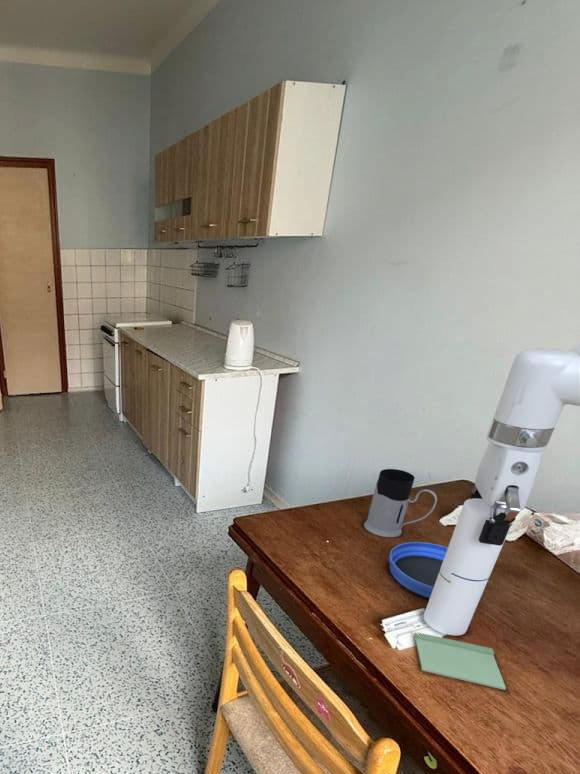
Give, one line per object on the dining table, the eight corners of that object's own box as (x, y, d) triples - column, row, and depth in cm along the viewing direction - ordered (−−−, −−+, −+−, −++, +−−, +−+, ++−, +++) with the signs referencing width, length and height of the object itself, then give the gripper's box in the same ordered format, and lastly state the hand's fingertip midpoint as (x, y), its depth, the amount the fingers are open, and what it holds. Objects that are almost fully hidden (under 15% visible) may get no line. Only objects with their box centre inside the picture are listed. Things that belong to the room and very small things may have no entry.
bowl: (368, 565, 107) (371, 552, 105) (426, 548, 113) (430, 535, 111) (439, 614, 92) (444, 600, 91) (502, 592, 98) (508, 578, 96)
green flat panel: (490, 651, 84) (492, 647, 83) (505, 690, 76) (507, 686, 76) (414, 634, 88) (415, 630, 87) (421, 670, 80) (423, 666, 80)
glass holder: (374, 516, 126) (387, 464, 119) (430, 537, 117) (448, 483, 110) (357, 527, 122) (370, 474, 115) (414, 550, 112) (432, 494, 105)
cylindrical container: (456, 641, 86) (505, 523, 74) (416, 619, 91) (456, 506, 79) (473, 624, 90) (522, 510, 78) (434, 604, 95) (474, 494, 83)
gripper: (572, 456, 64) (525, 560, 72) (529, 418, 78) (494, 509, 86) (506, 450, 66) (468, 551, 75) (476, 414, 81) (446, 502, 89)
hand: (482, 528), depth 80 cm, fingers open, 9 cm apart
